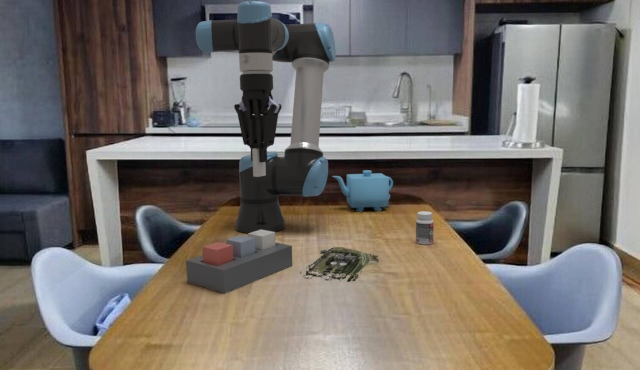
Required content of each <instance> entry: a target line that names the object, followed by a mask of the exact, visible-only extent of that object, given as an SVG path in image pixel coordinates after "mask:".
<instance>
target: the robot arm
mask: <svg viewBox="0 0 640 370" xmlns="http://www.w3.org/2000/svg"><path fill="white" fill-rule="evenodd" d="M236 16H237V18H236V19H222V20H211V19H210V20H206V21H205V20H204V21H200V22H198V23H197V25H196V28H195V41H196V45H197V46H198V48H199V50H200V51H202V52H204V53H220V52H221V53H232V54H233V53H234V54H238V61H239V65H238V66H239V72H241V73H242V74H240V75H239V89H240V90H241V91H242V95H241V101H240V102H239V103H238V104H237V103H236V104H234V106H233V107H234V110H235V112H236V114H237V118H238V122H239V123H238V124H239V127H240V129H239V130H240V132H241V138H242V142H243V145H245V146H248V147H249V148H250V154H247V155H244V156H242V157H241V158H240V159H239V165H238V169H239V170H238V173H239V174H238V175H239V176H238V177H239V196H240V197H239V198H240V205H239V209H238V213H237V218H236V219H235V230H236V231H237V232H241V233H245V234H248V233H251V232H255V231H258V230H266V231H272V232H275V233H276V232H279V231H282V230H283V229H285V227H286V221H285V218H284V216H283V212H282V209H281V207H280V202H279V196H287V197H288V196H289V197H290V196H291V197H292V196H293V197H305V198H307V197H317V196H319V195H321V194H322V193H323V192H324V189H325V187H326V186H327V180H328V177H329V176H328V175H329V161H328V159H327V158H326V157H324V152H323V151H322V149H321V148H320V143H319V142H320V130H321V118H322V117H321V116H322V115H321V114H322V102H323V100H322V99H323V86H324V74H325V73H326V71H328V70H329V68H330V63H331V62H334V61H335V60H336V56H337V55H336V50H337V49H336V42H335V37H334V33H333V30H332V27H331V26H330V24H328V23H325V22H317V21H316V22H314V23H313V22H312V23H311V22H310V23H291V24H284V23H283V22H282V21H280V20H279V19H277V18H273V14H272V7H271V5H270V3H268V2H266V1H260V0H259V1H258V0H251V1H249V0H248V1H247V0H246V1H241V2H240V3H239V4H238V6H237V15H236ZM273 61H274V62H279V63H291V67H292V68H293V69H294V70H295V77H294V78H295V79H294V80H295V82H294V91H293V92H294V93H293V94H294V95H293V105H292V106H293V108H292V118H291V132H290V145H288V146H287V147H286V148H285V149H284V154H283V155H284V156H279V154H278V152H277V151H268V148H269V147H270V146H271V147H272V146H273V145H274V144H275V140H276V139H275V138H276V132H277V127H278V125H277V124H278V120H279V114H280V111H281V110H282V104H280V103H277V102H275V101H274V97H273V94H272V91H273V90H274V75H273V74H272V73H271V72H273V71H274V68H273V67H274V64H273Z"/></svg>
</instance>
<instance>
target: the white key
mask: <svg viewBox="0 0 640 370" xmlns="http://www.w3.org/2000/svg"><path fill="white" fill-rule="evenodd" d="M247 237H252V238H255V249H259V250H265V249H268V248H271V247H274V246H276V243H277V242H276V232H272V231H266V230H258V231H255V232H251V233H247Z"/></svg>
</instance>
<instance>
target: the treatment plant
mask: <svg viewBox="0 0 640 370" xmlns="http://www.w3.org/2000/svg"><path fill="white" fill-rule="evenodd" d="M319 253H320V254H322V255H321V256H320V257H317V258H316V260H315V261H314V262H313V263H311V264H308V265H307V266H306V268H305V275H303V276H302V277H303V278H304V279H312V278H314V277H316V278H318V277H319V278H322V279H325V280H329V281H332V280H333V279H334V280H338V281H339V282H342V280H344V279H345V280H346V278H347V276H349V277H348V278H347V282H349V281H350V280H351V279H352V280H351V281H356V280H357V279H358V278H359V274H358V273H360V274H363V275H365V274H364V273H363V272H362V270H363V269H364V268H365V267H366V266H377V265H378V263H379V261H380V260H379V259H378V257H379V255H374V254H372V253H368V252H364V251H360V250H357V249H352V248H346V247H344V246H343V247H342V246H340V247H339V246H333V247H330V248H329V249H323V250H320V252H319ZM307 269H308V270H307ZM312 272H313V273H312ZM298 273H299V274H301V273H302V270H300V271H299V272H298ZM317 273H318V274H317ZM328 274H329V275H328ZM337 275H339V276H337ZM353 277H354V278H353Z"/></svg>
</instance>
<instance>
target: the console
mask: <svg viewBox="0 0 640 370" xmlns="http://www.w3.org/2000/svg"><path fill="white" fill-rule="evenodd" d="M185 266H186V269H185V270H186V282H187V283H190V284H192V285H196V286H199V287H202V288H206V289H209V290H212V291H215V292H220V293H223V294H227V293H229V292H232V291H235V290H237V289H239V288H242V287H245V286H247V285H249V284H251V283H254V282H256V281H258V280H261V279H263V278H266V277H268V276H270V275H273V274H277V273H278V272H281V271H283V270H286V269H288V268H290V267H293V245H291V244H285V243H280V242H276V246H274V247H271V248H268V249H265V250H259V249H255V253H254V254H251V255H248V256H245V257H242V258H240V257H236V256H233V261H231V262H228V263H225V264H222V265H219V266H215V265H211V264H208V263H204V262H203V254H202V255H198V256H196V257H192V258H189V259H186V260H185Z"/></svg>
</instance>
